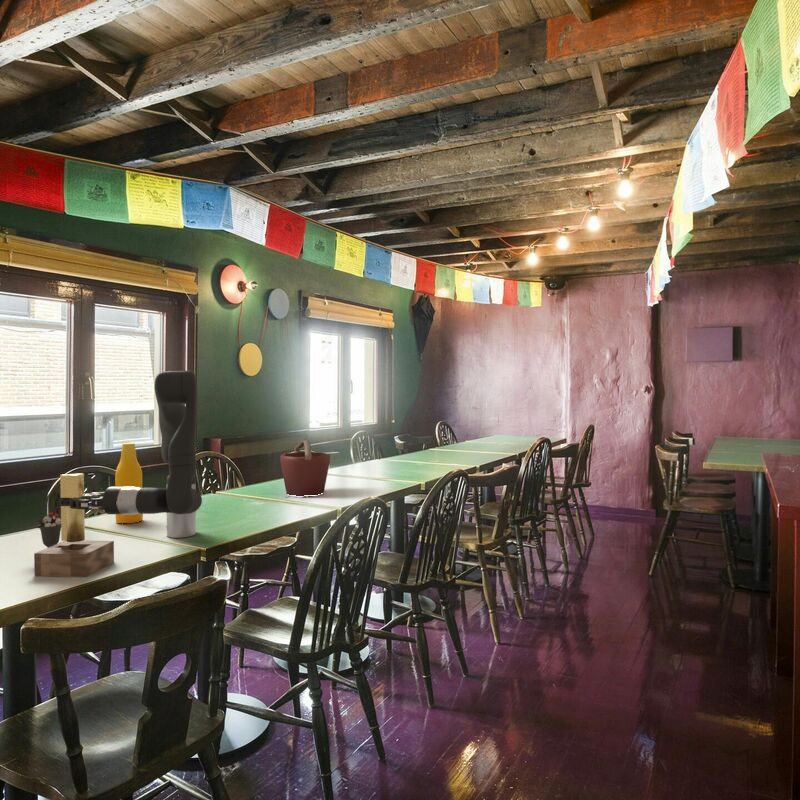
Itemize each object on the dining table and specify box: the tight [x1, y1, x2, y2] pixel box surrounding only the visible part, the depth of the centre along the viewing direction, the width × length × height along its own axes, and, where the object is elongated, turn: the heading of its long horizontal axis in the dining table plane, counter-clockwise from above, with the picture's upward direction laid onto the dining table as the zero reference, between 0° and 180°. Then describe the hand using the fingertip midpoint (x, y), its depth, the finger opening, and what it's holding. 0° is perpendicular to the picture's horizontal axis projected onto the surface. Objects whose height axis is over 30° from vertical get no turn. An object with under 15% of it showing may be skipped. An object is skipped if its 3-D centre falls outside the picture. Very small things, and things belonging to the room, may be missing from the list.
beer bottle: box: [114, 442, 144, 525], centre depth 226 cm, size 9×9×29 cm
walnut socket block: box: [33, 539, 115, 578], centre depth 168 cm, size 14×14×6 cm
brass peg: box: [59, 473, 86, 542], centre depth 168 cm, size 4×6×18 cm
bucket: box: [279, 439, 331, 496], centre depth 284 cm, size 24×22×25 cm
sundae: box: [36, 506, 61, 548], centre depth 177 cm, size 7×7×15 cm
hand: (65, 500), depth 168 cm, fingers closed on brass peg, 4 cm apart
